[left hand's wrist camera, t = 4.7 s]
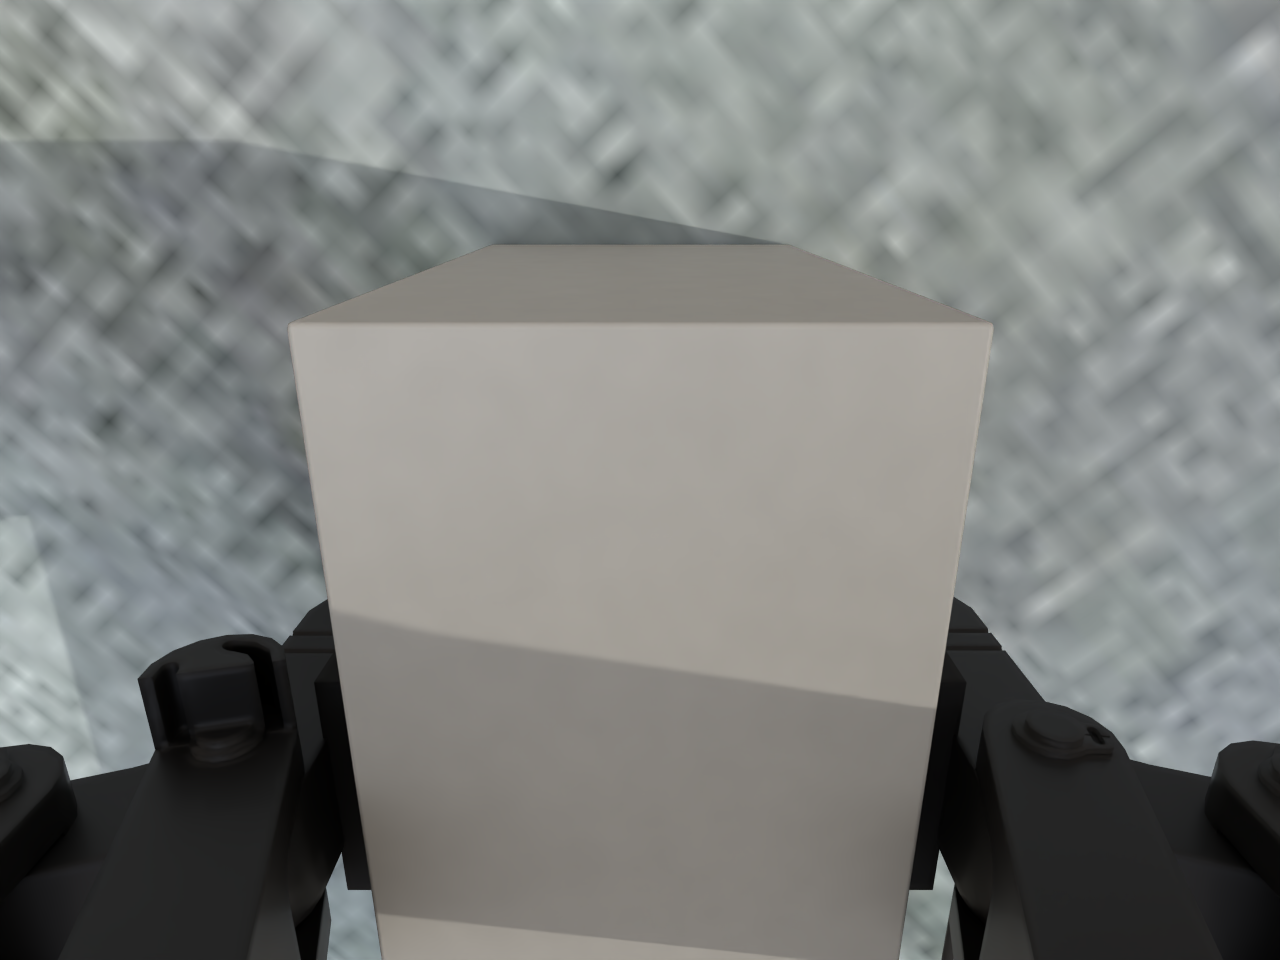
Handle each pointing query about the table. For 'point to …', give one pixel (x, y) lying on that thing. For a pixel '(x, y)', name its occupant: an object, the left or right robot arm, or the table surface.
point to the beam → (640, 594)
